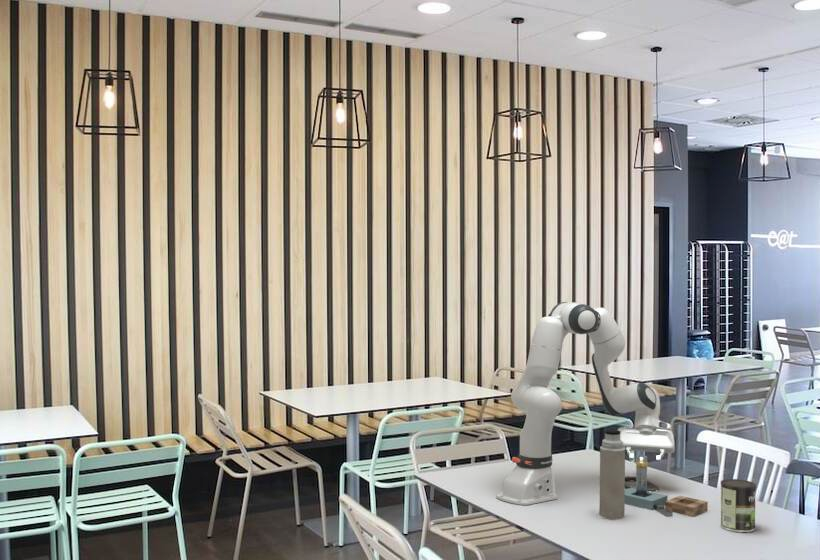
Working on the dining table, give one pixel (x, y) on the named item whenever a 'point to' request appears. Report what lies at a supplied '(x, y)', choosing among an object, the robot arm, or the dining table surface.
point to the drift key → (662, 510)
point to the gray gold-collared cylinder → (641, 476)
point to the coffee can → (738, 505)
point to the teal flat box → (644, 499)
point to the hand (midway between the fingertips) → (644, 460)
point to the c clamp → (649, 485)
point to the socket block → (686, 506)
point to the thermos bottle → (612, 476)
